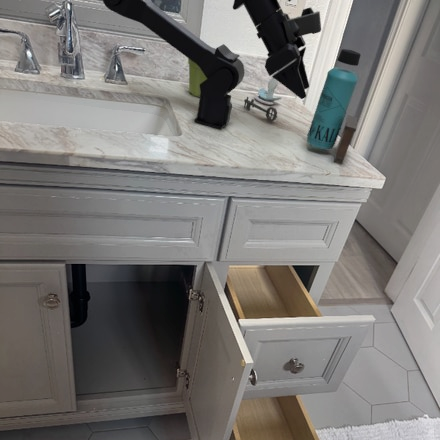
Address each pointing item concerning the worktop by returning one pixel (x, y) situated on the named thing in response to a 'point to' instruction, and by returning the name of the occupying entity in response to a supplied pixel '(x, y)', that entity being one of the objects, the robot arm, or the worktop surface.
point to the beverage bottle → (333, 102)
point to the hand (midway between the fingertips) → (305, 92)
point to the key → (251, 103)
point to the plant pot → (195, 78)
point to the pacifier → (268, 93)
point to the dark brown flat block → (345, 139)
